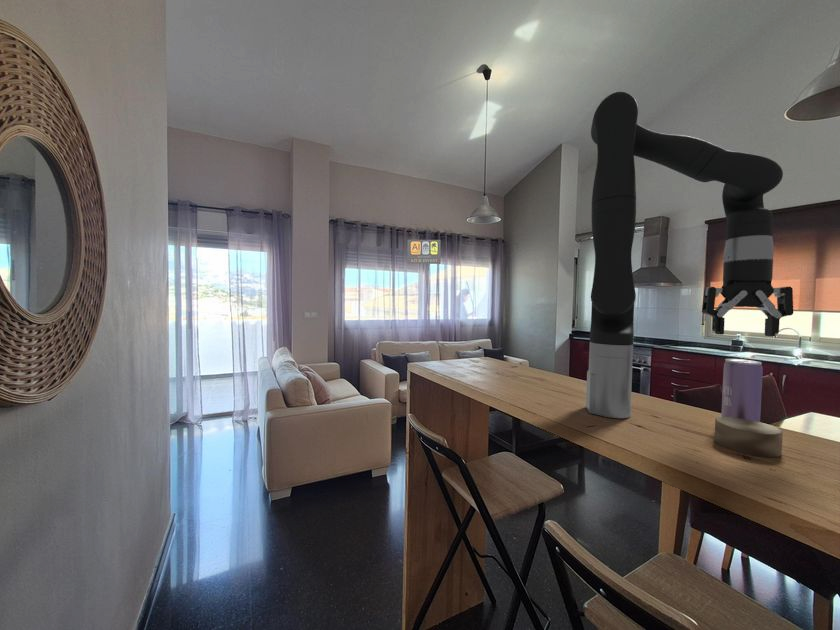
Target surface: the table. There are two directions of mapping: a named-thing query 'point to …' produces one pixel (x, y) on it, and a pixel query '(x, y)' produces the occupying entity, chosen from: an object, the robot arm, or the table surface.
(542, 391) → the table surface
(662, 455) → the table surface
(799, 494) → the table surface
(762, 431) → the plinth
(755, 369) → the beverage can
